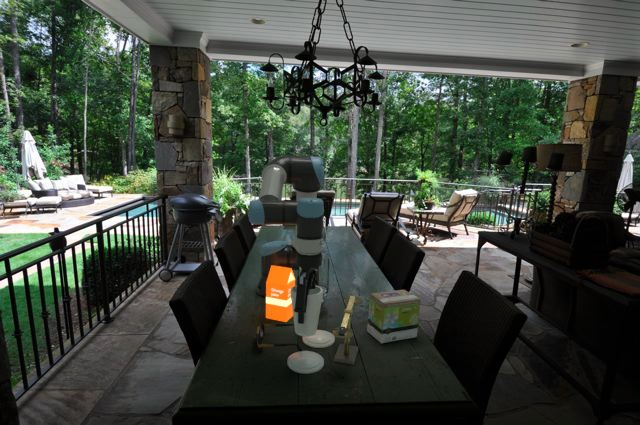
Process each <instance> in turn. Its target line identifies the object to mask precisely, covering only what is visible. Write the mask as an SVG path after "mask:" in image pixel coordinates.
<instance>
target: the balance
mask: <svg viewBox="0 0 640 425" xmlns="http://www.w3.org/2000/svg"><path fill="white" fill-rule="evenodd" d="M343 302H344V303H345V304H347V306H346V308H344V311H343V319H342V322H341V325H340V326H338V327H335V328H333V330H332V334H333V335H334V337H335V338H338V339H340V340H341V339H343V340H344V343H339V345H338V348H337V350H336V353H335V355H334V358H333V362H334V363H341V364H344V365H345V364H346V365H354V364H355V360H356V358H357V355H358V351H359V346H356V345H350V343H351V339H350V338H352V337H353V336H354V334H355V333H354V330H353V329H351V320H352V317H353V314H354V305H361V304H362V303H363V298H361V297H359V296H355V295H348V296H345V297H344V298H343Z"/></svg>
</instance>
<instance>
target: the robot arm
mask: <svg viewBox="0 0 640 425" xmlns="http://www.w3.org/2000/svg"><path fill="white" fill-rule="evenodd" d="M324 170H325V168H324V161H323V159H322V157H320V156H314V155H313V156H312V155H286V154H285V155H281V156H278V157H274V158H273V159H271V160H270V161H269V162H268V163H266V165H265V166H264V167H263V168H262V171H261V179H262V182H261V187H260V191H259V194H258V199H252V200H250V201H249V205H248V221H249V222H250V223H251V224H252V225H261V226H265V225H269V226H270V225H271V226H273V225H275V226H280V225H281V226H282V225H283V226H295V232H294V233H295V234H294V235H295V238H294V239H293V240H292V241H291V244H288V242H287V241H285V240H273V241H270V242H269V241H268V242H266V243H264V244H263V245H261V252H260V256H261V257H260V258H261V260H260V261H261V263H260V278H259V280H258V284H257V287H256V292H257V295H260V296H263V297H265V298H266V282H267V279H268V275H269V272H270V268H271V265H273V266H280V267H287V268H292V271H300V272H299V273H300V274H299V275H297V277H296V285H297V292H296V301H295V309H294V311H295V312H297V333H302V334H306V333H307V311H306V308H307V297H308V295H309V289H315V286H316V285H317V286H319V284H320V283H319V281H320V280H319V267H321V266H322V265H323V264H322V262H323V254H322V251H323V246H324V245H325V242H324V241H323V231H324V229H323V228H324V214H325V208H324V200H323V199H322V198H317V196H318V193H319V192H320V191H321V189H322V187H323V186H325V184H326V182H325V171H324ZM284 185H292V187H293V190H294V191H295V192H296V200H282V199H283V190H284V189H283V188H284ZM299 266H300V267H301V268H302V270H299ZM319 287H320V286H319Z"/></svg>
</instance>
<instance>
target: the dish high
mask: <svg viewBox="0 0 640 425" xmlns="http://www.w3.org/2000/svg"><path fill="white" fill-rule="evenodd" d="M335 340H336V337H335V336H334V335H333V332H330V331H327V330H323V329H317V330H316V333H315V334H314V335H312V336H302V342H303V343H304V344H305V345H306V346H308V347H311V348H315V349H325V348H328V347H331V346H333V344H334V343H335Z"/></svg>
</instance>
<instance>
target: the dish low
mask: <svg viewBox="0 0 640 425" xmlns="http://www.w3.org/2000/svg"><path fill="white" fill-rule="evenodd" d="M286 362H287V367H288V368H289V369H290V370H291V371H292V372H294V373H298V374H302V375H303V374H305V375H308V374H315V373H317V372H319V371H321V370H322V369H323V367H324V364H325V358H323V356H322V355H321V354H319V353H317V352H314V351H312V350H311V351H310V350H303V351H299V350H298V351H297V352H294V353H292V354H290V355H289V356H288V357H287V361H286Z"/></svg>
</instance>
